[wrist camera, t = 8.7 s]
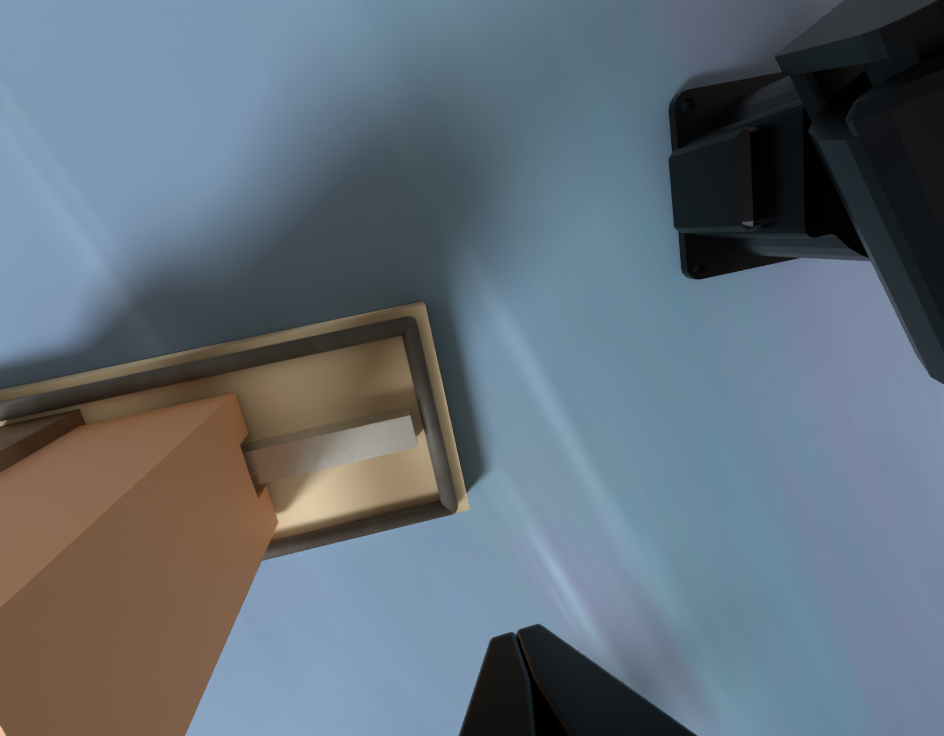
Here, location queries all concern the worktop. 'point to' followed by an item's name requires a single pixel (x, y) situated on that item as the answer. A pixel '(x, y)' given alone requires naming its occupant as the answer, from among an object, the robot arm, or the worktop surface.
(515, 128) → the worktop surface
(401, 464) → the board
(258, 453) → the rail
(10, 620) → the orange rectangular block
